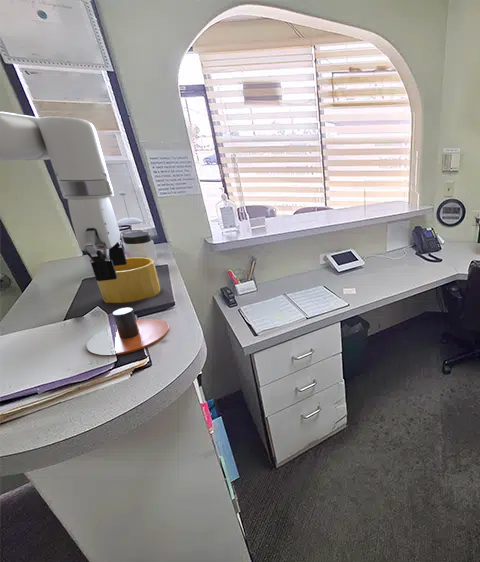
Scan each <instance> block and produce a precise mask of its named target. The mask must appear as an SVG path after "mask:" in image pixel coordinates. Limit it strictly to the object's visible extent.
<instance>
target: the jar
mask: <svg viewBox="0 0 480 562" xmlns="http://www.w3.org/2000/svg"><path fill="white" fill-rule="evenodd" d="M121 235H122V236H121V237H123V241H124V242H123V241H122V242H123V243H122V244H123V245H124V247H123V249H124V248H125V250H124V253H125V252H126V253H125V254H126V256H127V258H132V257H145V258H151V259H152V260H154V264H155V267H156V266H159V265H160V263H159V260H158V255H157V252H156V247H155V243H154V240H152V236H151V233H150V232H149V231H143V232H132V233H127V234H121ZM123 245H122V246H123Z"/></svg>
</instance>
